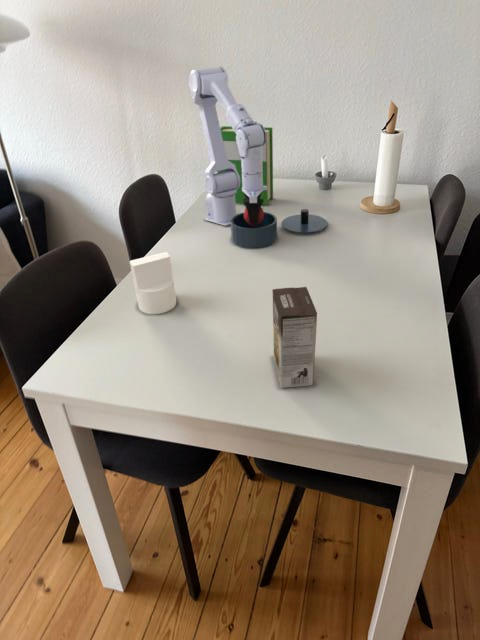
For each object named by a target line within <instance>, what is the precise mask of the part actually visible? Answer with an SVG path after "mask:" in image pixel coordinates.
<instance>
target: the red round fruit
mask: <svg viewBox="0 0 480 640" xmlns="http://www.w3.org/2000/svg"><path fill="white" fill-rule="evenodd" d="M264 212H265V211H264V209H263V208H262V206H261V208H260V212H259V219H258V223H250V220H249V216H248V211H247V209H246V208H244V211H243V213H244V219H245V220H246V222H247V223H249V224H250V225H251V226H252V227H255V226H257V225H258V224H260V223H261V222H262V220H263V218H264Z"/></svg>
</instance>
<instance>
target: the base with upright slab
mask: <svg viewBox="0 0 480 640" xmlns="http://www.w3.org/2000/svg"><path fill="white" fill-rule="evenodd" d="M171 261H172V260H171V256H170V253H168V252H167V251H163V252H159V253H155V254H151V255H147V256H143V257H140V258H135V259H132V260H129V266H130V271H131V274H132V280H133V281H132V282H133V286H134V291H135V296H136V300H137V305H138V309H139V310H140V311H141V312H142V313H144V314H148V315H160V314H163V313H167V312H169V311H171V310H173V309H174V307H176V304H177V296H176V289H175V283H174V282H175V281H174V275H173V270H172V269H173V268H172V262H171Z"/></svg>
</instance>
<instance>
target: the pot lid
mask: <svg viewBox="0 0 480 640" xmlns="http://www.w3.org/2000/svg"><path fill="white" fill-rule="evenodd" d="M309 211H310V210H309V209H308V208H307V209H306V208H302V209H301V210H300V213H299V214H293V215H289V216H287V217H285V218H283V219H282V220H281V222H280V223H281V224H280V225H281V228H282V229H283V230H285V231H287V232H290V233H294V234H299V235H300V234H303V235H305V234H315V233H320V232H322V231H325V229H327V227H328V223H329V222H328V221H327V219H326V218H324V217H322V216H320V215H316V214H310V212H309Z"/></svg>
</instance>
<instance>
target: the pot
mask: <svg viewBox="0 0 480 640" xmlns="http://www.w3.org/2000/svg"><path fill="white" fill-rule="evenodd" d="M230 233H231V241H232V243H233V244H234V245H235V246H237V247H239V248H244V249H250V250H251V249H254V250H255V249H263V248H268V247H269V246H272V245H273V244H275V243H276V242H277V239H278V218H277V217H276V215H275V214H273V213H270V212H267V211H264V218H263V220H262V222H261V223H260V224H258V225H257V226H255V227H252V226H251V225H250V224H249V223H247V222H246V220H245V219H244V212H241V213H238V214H236V216H234V217H233V218H232V219H231V224H230Z"/></svg>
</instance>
